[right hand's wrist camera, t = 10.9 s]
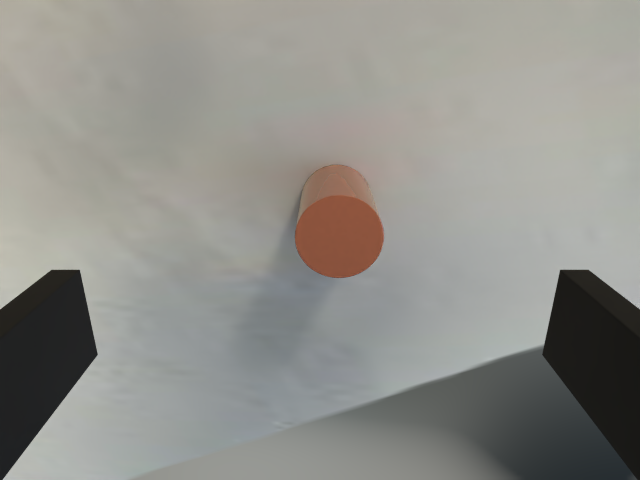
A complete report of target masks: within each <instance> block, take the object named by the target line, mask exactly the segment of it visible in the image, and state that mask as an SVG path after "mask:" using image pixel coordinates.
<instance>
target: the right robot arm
mask: <svg viewBox="0 0 640 480" xmlns="http://www.w3.org/2000/svg"><path fill="white" fill-rule="evenodd" d="M97 355H98V354H97V349H96V345H95V340H94V335H93V330H92V326H91V321H90V316H89V311H88V307H87V302H86V297H85V293H84V288H83V283H82V278H81V274H80V270H51V271H50V272H48V273H47V274H46V275H44V276H43V277H42V278H40V279H39V280H38V281H37V282H35V283H34V284H33V285H31V286H30V287H29V288H28V289H26V290H25V291H24V292H22V293H21V294H20V295H18V296H17V297H16V298H15V299H13V300H12V301H11V302H9V303H8V304H7V305H6V306H4V307H3V308H2V309H0V480H3V478H4V477H5V476H6V474H7V473H8V472H9V470H10V469H11V468H12V466H13V465H14V464H15V463H16V461H17V460H18V459H19V457H20V456H21V455H22V453H23V452H24V451H25V449H26V448H27V447H28V445H29V444H30V443H31V442H32V440H33V439H34V438H35V436H36V435H37V434H38V432H39V431H40V430H41V428H42V427H43V426H44V424H45V423H46V422H47V421H48V419H49V418H50V417H51V415H52V414H53V413H54V411H55V410H56V409H57V407H58V406H59V405H60V403H61V402H62V401H63V400H64V398H65V397H66V396H67V394H68V393H69V392H70V390H71V389H72V388H73V386H74V385H75V384H76V382H77V381H78V380H79V379H80V377H81V376H82V375H83V373H84V372H85V371H86V369H87V368H88V367H89V365H90V364H91V363H92V361H93V360H94V359H95V358H96V356H97ZM542 355H543V356H544V358H545V359H546V360H547V361H548V363H549V364H550V365H551V367H552V368H553V369H554V371H555V372H556V373H557V375H558V376H559V377H560V378H561V380H562V381H563V382H564V384H565V385H566V386H567V388H568V389H569V390H570V391H571V393H572V394H573V396H574V397H575V398H576V400H577V401H578V402H579V403H580V405H581V406H582V407H583V409H584V410H585V411H586V413H587V414H588V415H589V417H590V418H591V419H592V420H593V422H594V423H595V424H596V426H597V427H598V428H599V430H600V431H601V432H602V434H603V435H604V436H605V438H606V439H607V440H608V442H609V443H610V444H611V445H612V447H613V448H614V449H615V451H616V452H617V453H618V455H619V456H620V457H621V459H622V460H623V461H624V463H625V464H626V465H627V466H628V468H629V469H630V470H631V472H632V473H633V474H634V476H635V477H636V478H637V480H640V309H638V308H637V307H636V306H634V305H633V304H632V303H631V302H629V301H628V300H627V299H625V298H624V297H623V296H622V295H620V294H619V293H618V292H616V291H615V290H614V289H612V288H611V287H610V286H609V285H607V284H606V283H605V282H603V281H602V280H601V279H600V278H598V277H597V276H596V275H594V274H593V273H592V272H590V271H589V270H560V274H559V278H558V283H557V288H556V293H555V297H554V302H553V307H552V311H551V316H550V321H549V326H548V330H547V335H546V340H545V345H544V349H543V354H542Z"/></svg>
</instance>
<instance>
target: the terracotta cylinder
mask: <svg viewBox="0 0 640 480" xmlns="http://www.w3.org/2000/svg"><path fill="white" fill-rule="evenodd" d="M383 242H384V230H383V225H382V222H381V219H380V216H379V213H378V211H377V208H376V205H375V202H374V199H373V196H372V193H371V190H370V188H369V185H368V183H367V181H366V180H365V178H364V177H363V176H362V175H361V174H360V173H359V172H357V171H356V170H354V169H352V168H350V167H347V166H343V165H331V166H326V167H323V168H321V169H319V170H317V171H316V172H315V173H313V174H312V175H311V176H310V177H309V178H308V180H307V181H306V183H305V185H304V187H303V190H302V195H301V201H300V207H299V213H298V219H297V224H296V230H295V243H296V248H297V250H298V253H299V255H300V257H301V258H302V260H303V261H304V262H305V263H306V264H307V266H309V267H310V268H311V269H312V270H314V271H316V272H317V273H319V274H322V275H324V276H328V277H334V278H344V277H350V276H354V275H356V274H359V273H361V272H363V271H364V270H366V269H367V268H368V267H370V266H371V265H372V264H373V263H374V261H375V260H376V259H377V257H378V256H379V254H380V252H381V250H382V246H383Z"/></svg>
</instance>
